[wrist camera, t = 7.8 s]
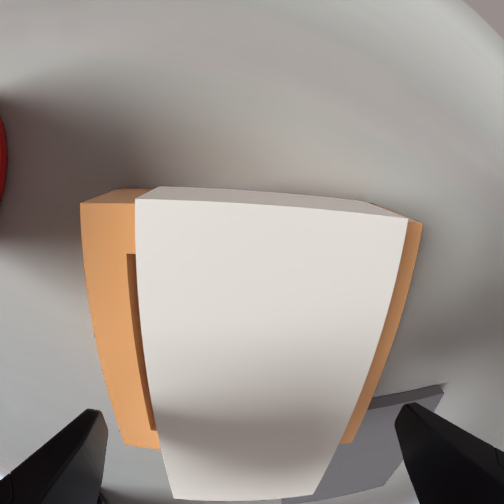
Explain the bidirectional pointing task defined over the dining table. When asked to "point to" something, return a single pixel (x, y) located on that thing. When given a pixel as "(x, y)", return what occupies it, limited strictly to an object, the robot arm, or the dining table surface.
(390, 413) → the mat
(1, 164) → the canned food
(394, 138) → the dining table surface
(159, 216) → the cover board
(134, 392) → the dish
